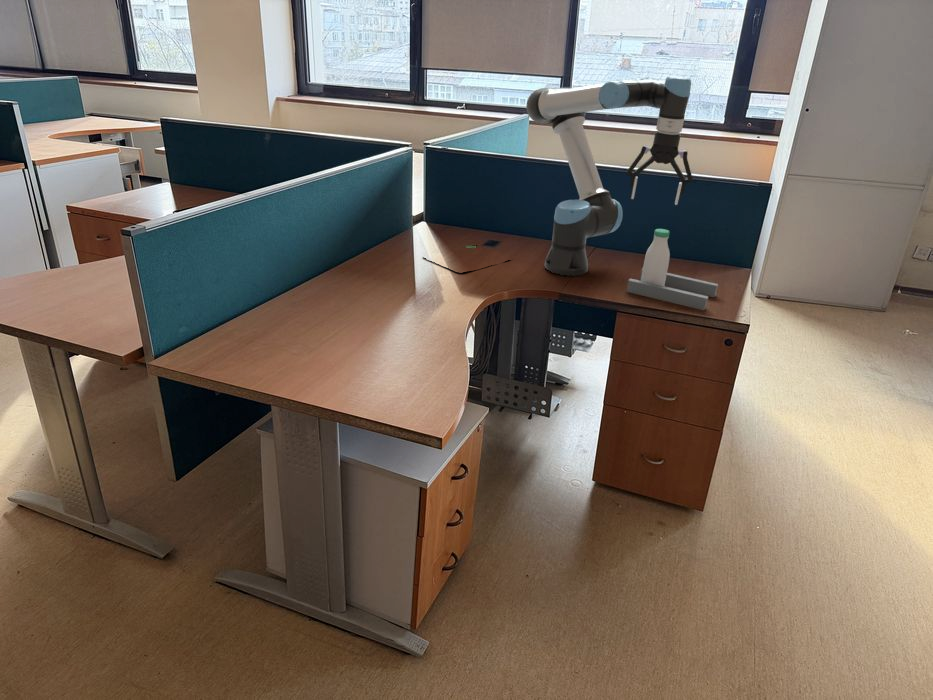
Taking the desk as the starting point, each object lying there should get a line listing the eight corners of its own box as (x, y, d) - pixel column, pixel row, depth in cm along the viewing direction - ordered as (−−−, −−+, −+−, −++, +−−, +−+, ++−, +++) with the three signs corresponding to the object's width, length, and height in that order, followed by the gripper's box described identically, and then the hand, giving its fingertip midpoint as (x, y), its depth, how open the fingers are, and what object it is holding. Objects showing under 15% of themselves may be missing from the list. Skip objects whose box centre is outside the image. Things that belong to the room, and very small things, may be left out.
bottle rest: (626, 291, 212) (628, 280, 210) (641, 278, 224) (643, 267, 222) (704, 310, 201) (706, 298, 199) (715, 295, 212) (718, 284, 210)
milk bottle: (664, 294, 211) (675, 235, 202) (640, 292, 212) (650, 232, 203) (662, 286, 218) (673, 228, 209) (639, 283, 219) (649, 225, 210)
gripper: (625, 129, 196) (613, 198, 207) (711, 139, 191) (694, 209, 201) (627, 125, 203) (615, 192, 213) (710, 134, 197) (694, 203, 208)
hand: (654, 200), depth 207 cm, fingers open, 13 cm apart
